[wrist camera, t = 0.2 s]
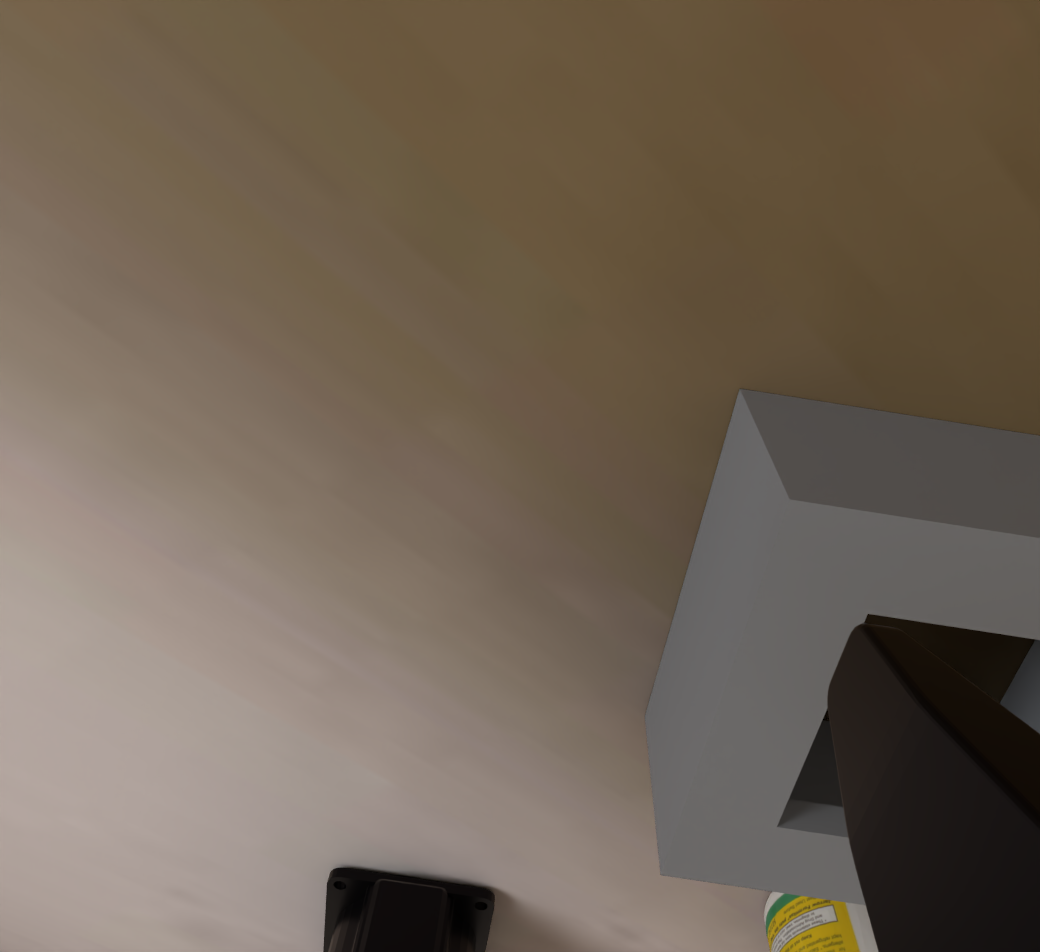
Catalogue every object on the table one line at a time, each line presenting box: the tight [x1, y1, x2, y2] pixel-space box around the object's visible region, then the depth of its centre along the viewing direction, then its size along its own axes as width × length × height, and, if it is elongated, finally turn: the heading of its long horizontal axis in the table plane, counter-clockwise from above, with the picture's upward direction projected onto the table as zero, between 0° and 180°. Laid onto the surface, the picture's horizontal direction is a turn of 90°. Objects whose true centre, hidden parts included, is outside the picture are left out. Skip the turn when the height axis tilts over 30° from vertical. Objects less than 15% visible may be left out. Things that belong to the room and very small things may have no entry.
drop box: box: [645, 389, 1040, 905], centre depth 23 cm, size 12×12×6 cm
